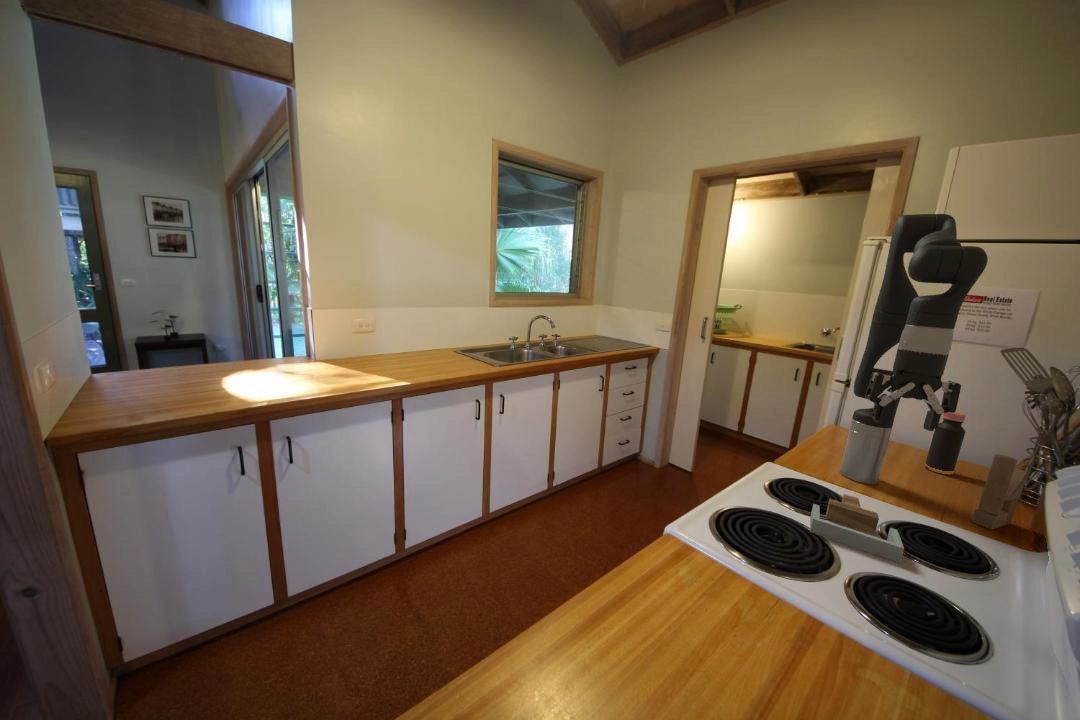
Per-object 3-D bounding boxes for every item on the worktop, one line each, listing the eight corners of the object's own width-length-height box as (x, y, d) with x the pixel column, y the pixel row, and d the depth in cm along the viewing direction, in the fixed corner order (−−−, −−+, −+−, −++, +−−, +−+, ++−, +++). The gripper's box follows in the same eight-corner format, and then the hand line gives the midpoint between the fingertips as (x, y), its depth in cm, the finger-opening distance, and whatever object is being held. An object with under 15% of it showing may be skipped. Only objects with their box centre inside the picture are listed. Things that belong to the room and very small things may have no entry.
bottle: (927, 471, 131) (944, 412, 127) (921, 464, 137) (937, 408, 133) (956, 478, 127) (973, 418, 124) (948, 470, 133) (965, 413, 130)
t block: (825, 504, 102) (828, 489, 102) (870, 517, 97) (874, 502, 97) (826, 519, 95) (829, 503, 94) (874, 534, 90) (878, 518, 89)
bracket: (810, 516, 95) (813, 503, 95) (893, 543, 87) (897, 529, 87) (810, 531, 89) (813, 518, 88) (900, 562, 80) (904, 548, 80)
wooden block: (1011, 524, 101) (1033, 457, 97) (991, 531, 96) (1013, 461, 93) (990, 516, 104) (1011, 450, 101) (970, 522, 100) (991, 454, 96)
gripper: (955, 351, 81) (934, 426, 85) (871, 342, 86) (854, 414, 89) (981, 356, 74) (957, 439, 78) (889, 347, 79) (869, 425, 82)
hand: (902, 426), depth 83 cm, fingers open, 8 cm apart
